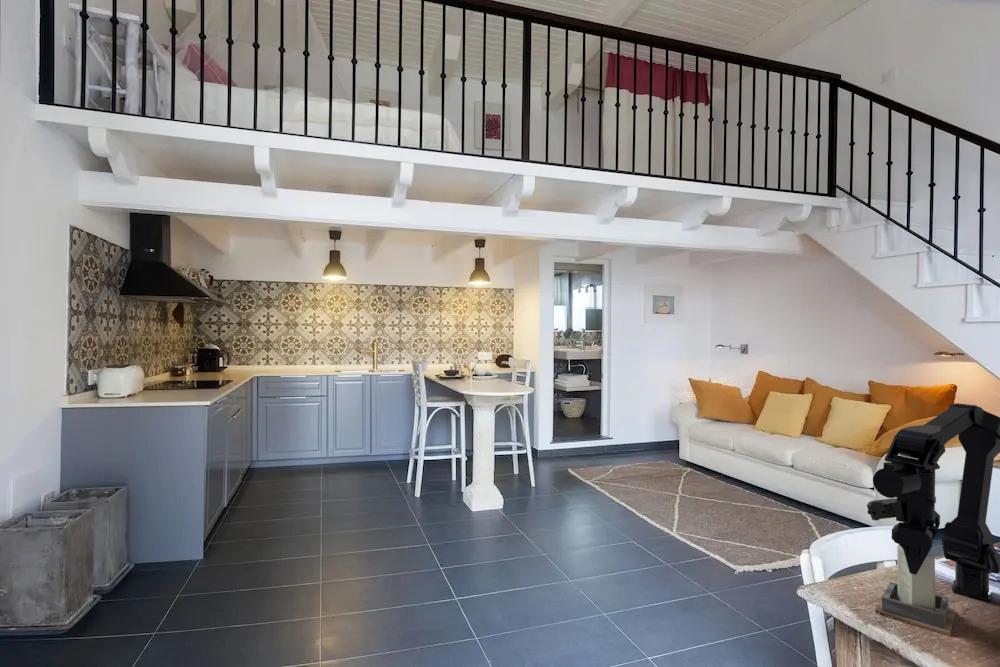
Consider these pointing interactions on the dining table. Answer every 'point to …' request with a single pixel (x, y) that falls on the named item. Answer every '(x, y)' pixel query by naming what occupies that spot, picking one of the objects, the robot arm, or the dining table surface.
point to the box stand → (917, 611)
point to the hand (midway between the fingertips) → (916, 566)
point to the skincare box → (916, 582)
